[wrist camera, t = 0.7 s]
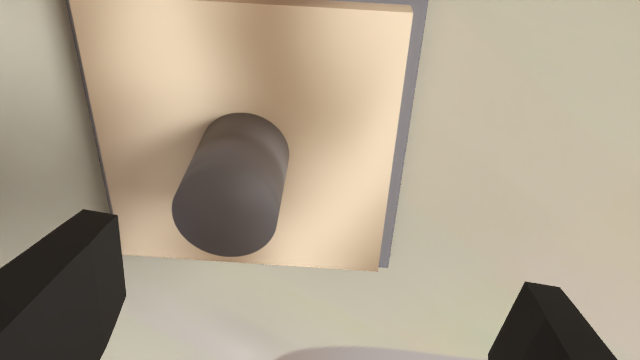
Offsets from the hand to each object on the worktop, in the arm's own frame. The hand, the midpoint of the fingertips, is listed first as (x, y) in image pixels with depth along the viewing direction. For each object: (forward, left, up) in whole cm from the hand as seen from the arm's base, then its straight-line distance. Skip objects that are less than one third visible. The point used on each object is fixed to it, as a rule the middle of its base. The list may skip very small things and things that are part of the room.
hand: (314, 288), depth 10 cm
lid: (-3, -2, -9) cm, 10 cm away
